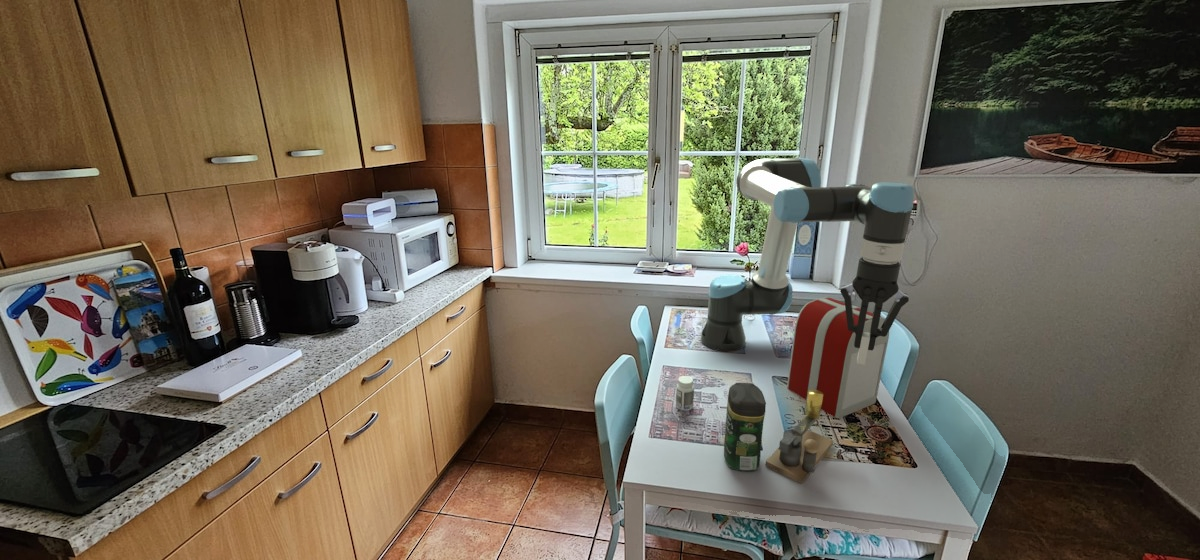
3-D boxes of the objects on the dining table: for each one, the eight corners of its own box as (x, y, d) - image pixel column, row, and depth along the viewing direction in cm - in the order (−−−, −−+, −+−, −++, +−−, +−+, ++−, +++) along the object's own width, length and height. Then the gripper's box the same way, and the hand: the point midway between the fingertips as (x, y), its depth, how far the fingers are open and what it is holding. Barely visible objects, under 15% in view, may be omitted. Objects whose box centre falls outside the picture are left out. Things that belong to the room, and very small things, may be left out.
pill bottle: (694, 402, 136) (695, 376, 133) (691, 412, 132) (693, 385, 129) (677, 399, 138) (678, 373, 135) (674, 409, 133) (675, 382, 131)
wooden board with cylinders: (765, 465, 112) (769, 433, 109) (798, 429, 124) (802, 400, 121) (806, 486, 106) (811, 452, 103) (837, 446, 118) (842, 415, 115)
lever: (774, 447, 108) (778, 418, 106) (806, 414, 120) (810, 387, 118) (792, 455, 106) (796, 426, 103) (822, 421, 117) (827, 393, 115)
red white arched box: (837, 419, 128) (853, 325, 119) (784, 387, 143) (796, 302, 134) (877, 402, 135) (895, 312, 126) (823, 373, 150) (836, 291, 141)
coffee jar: (720, 444, 119) (726, 377, 113) (754, 446, 118) (761, 379, 112) (725, 472, 110) (732, 401, 104) (761, 474, 109) (770, 403, 103)
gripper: (844, 260, 100) (827, 362, 108) (918, 268, 94) (895, 375, 102) (845, 251, 106) (829, 348, 114) (915, 258, 101) (894, 360, 108)
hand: (861, 361), depth 108 cm, fingers closed
